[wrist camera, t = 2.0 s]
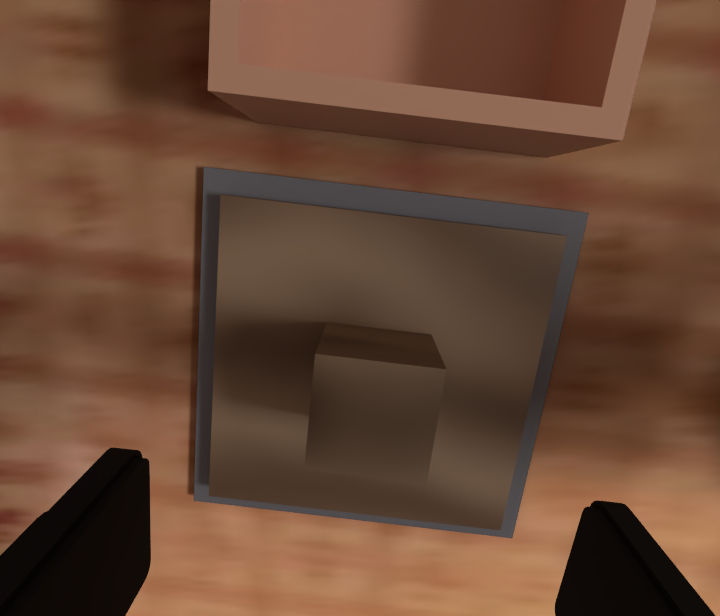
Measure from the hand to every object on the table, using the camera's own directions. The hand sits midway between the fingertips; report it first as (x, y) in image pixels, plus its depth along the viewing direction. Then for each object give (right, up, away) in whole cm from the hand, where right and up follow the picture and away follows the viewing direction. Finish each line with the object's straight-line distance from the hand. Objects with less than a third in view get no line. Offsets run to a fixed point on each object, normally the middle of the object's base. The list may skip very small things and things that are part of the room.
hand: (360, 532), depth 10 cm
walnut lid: (+1, +2, +11) cm, 11 cm away
